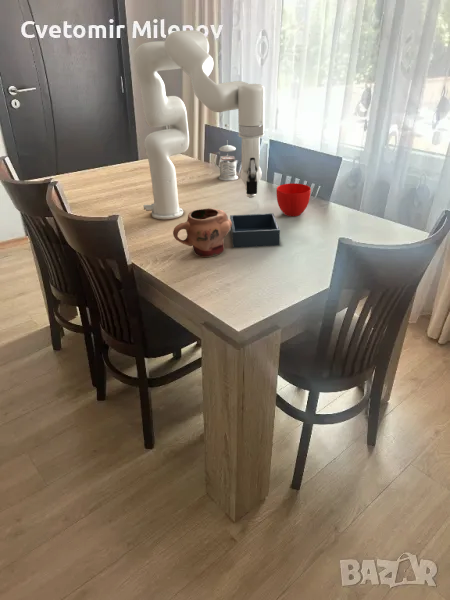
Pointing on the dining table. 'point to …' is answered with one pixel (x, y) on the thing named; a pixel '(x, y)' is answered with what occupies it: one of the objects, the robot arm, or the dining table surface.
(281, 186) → the ceramic cup
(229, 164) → the french press
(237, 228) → the tote
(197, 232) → the brown clay mug
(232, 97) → the robot arm
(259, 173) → the light bulb
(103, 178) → the dining table surface
